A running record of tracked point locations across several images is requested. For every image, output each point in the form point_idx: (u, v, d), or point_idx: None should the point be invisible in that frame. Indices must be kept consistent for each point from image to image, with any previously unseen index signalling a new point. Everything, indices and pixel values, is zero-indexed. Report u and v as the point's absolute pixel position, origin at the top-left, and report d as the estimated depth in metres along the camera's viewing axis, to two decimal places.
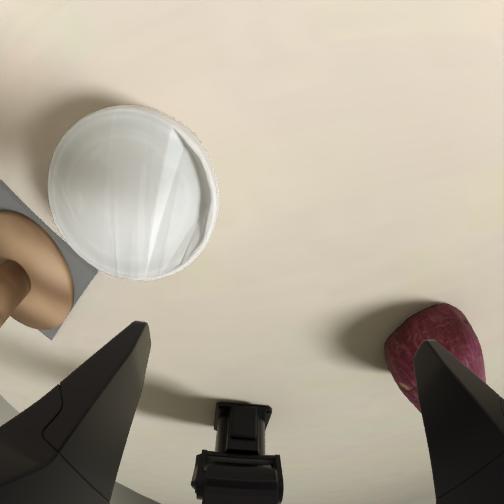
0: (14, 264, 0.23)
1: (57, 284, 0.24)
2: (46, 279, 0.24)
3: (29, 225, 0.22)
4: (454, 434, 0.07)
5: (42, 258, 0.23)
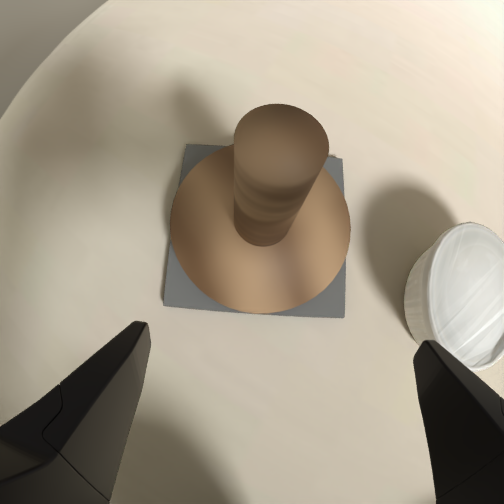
0: None
1: (310, 282, 0.21)
2: (303, 264, 0.22)
3: (348, 216, 0.23)
4: (454, 434, 0.07)
5: (328, 248, 0.22)
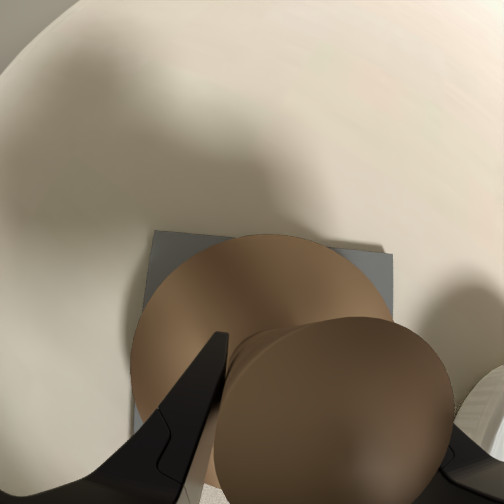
0: None
1: None
2: None
3: None
4: None
5: None
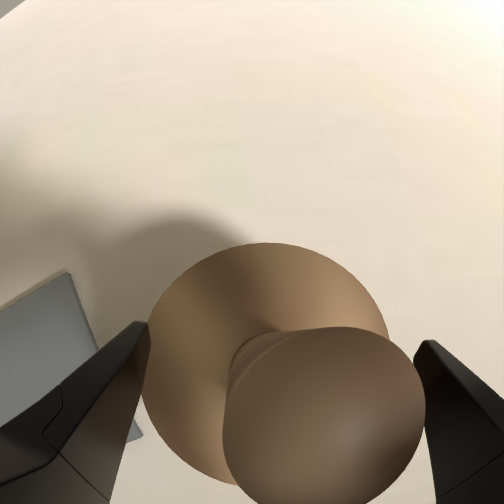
0: None
1: None
2: None
3: None
4: (454, 434, 0.07)
5: None
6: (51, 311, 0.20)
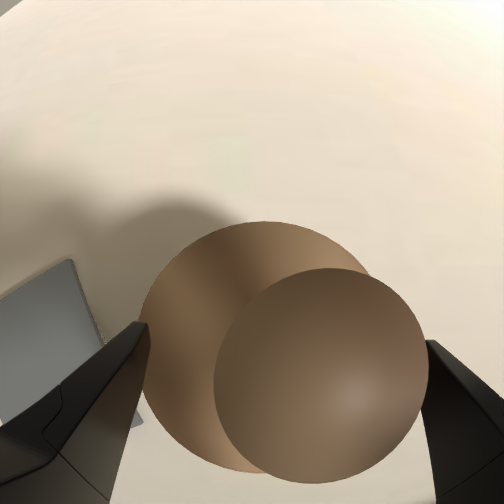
0: None
1: None
2: None
3: None
4: (454, 434, 0.07)
5: None
6: (52, 297, 0.20)
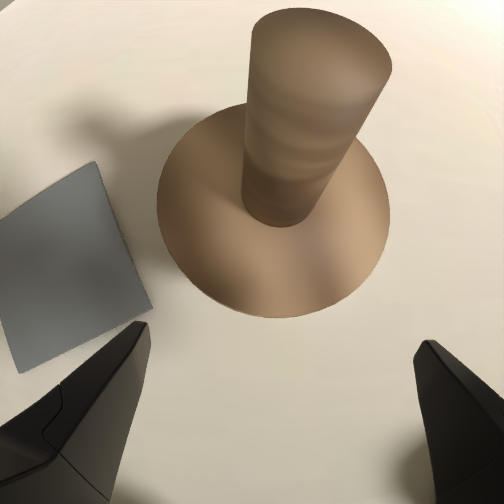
0: None
1: (342, 275, 0.16)
2: (333, 252, 0.16)
3: (385, 195, 0.17)
4: (454, 434, 0.07)
5: (364, 232, 0.16)
6: (75, 194, 0.22)
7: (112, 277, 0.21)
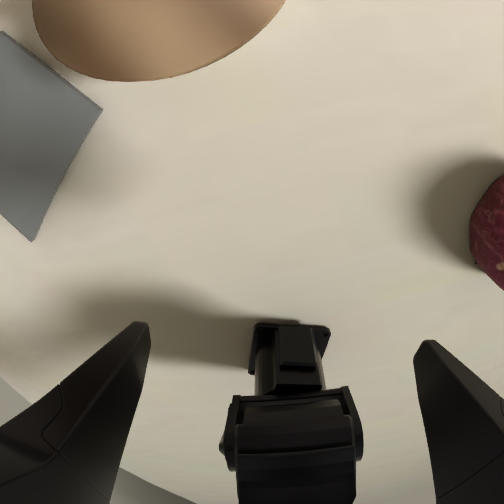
0: None
1: (253, 0, 0.10)
2: None
3: None
4: (454, 434, 0.07)
5: None
6: None
7: (56, 106, 0.17)
